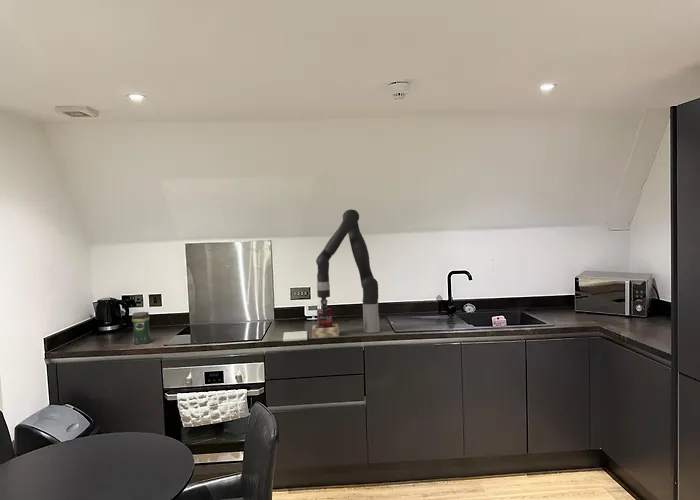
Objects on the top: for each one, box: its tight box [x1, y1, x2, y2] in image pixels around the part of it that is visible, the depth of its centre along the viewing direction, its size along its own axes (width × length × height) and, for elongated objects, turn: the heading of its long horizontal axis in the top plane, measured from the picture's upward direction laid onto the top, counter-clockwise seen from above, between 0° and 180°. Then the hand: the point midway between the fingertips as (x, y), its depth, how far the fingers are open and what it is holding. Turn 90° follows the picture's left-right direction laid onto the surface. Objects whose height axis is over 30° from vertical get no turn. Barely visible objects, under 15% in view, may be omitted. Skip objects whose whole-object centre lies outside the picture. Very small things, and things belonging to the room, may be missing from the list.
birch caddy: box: [311, 323, 340, 339], centre depth 316 cm, size 16×12×5 cm
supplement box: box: [316, 307, 334, 328], centre depth 316 cm, size 9×5×16 cm, turn 105°
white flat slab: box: [282, 330, 308, 342], centre depth 315 cm, size 14×20×1 cm
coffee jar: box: [131, 311, 152, 345], centre depth 315 cm, size 10×8×19 cm
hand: (324, 316), depth 316 cm, fingers open, 8 cm apart
